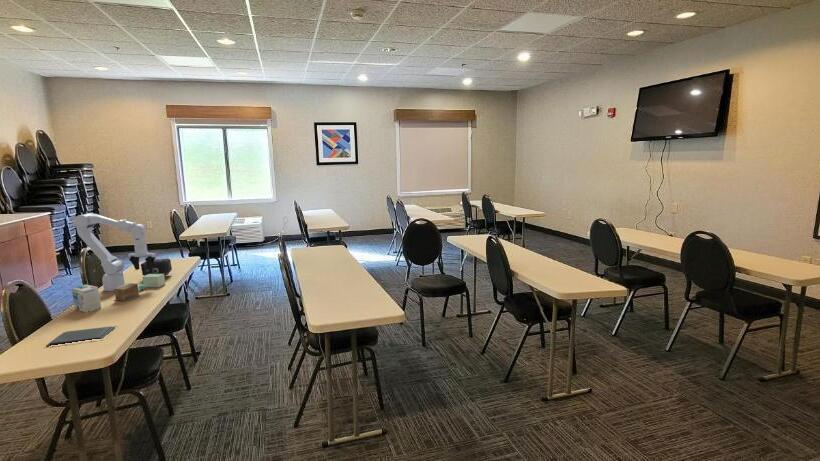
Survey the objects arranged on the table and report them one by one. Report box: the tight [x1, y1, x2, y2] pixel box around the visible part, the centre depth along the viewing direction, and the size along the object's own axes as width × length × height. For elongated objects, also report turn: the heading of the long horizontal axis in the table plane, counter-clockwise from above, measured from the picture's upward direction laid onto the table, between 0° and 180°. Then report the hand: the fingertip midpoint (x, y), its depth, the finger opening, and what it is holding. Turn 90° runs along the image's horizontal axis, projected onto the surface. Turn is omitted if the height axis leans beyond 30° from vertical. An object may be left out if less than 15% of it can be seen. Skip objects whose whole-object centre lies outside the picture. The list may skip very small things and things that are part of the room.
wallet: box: [45, 325, 118, 347], centre depth 166 cm, size 20×2×15 cm
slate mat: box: [113, 294, 141, 302], centre depth 211 cm, size 8×8×1 cm
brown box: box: [114, 283, 140, 300], centre depth 211 cm, size 5×9×6 cm, turn 175°
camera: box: [140, 258, 173, 277], centre depth 247 cm, size 11×11×15 cm
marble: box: [138, 284, 146, 291], centre depth 224 cm, size 3×3×3 cm
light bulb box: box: [71, 284, 102, 313], centre depth 196 cm, size 11×7×11 cm, turn 62°
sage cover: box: [142, 274, 166, 288], centre depth 231 cm, size 5×9×6 cm, turn 85°
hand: (143, 269), depth 229 cm, fingers open, 7 cm apart
